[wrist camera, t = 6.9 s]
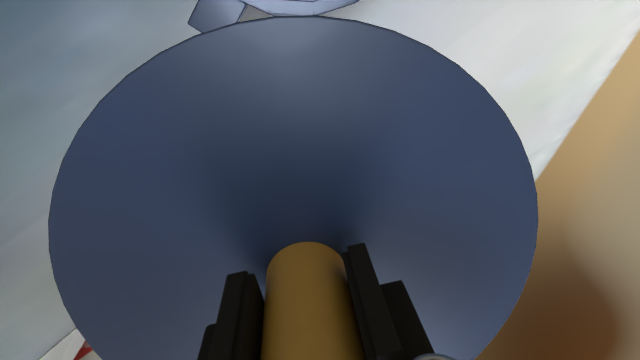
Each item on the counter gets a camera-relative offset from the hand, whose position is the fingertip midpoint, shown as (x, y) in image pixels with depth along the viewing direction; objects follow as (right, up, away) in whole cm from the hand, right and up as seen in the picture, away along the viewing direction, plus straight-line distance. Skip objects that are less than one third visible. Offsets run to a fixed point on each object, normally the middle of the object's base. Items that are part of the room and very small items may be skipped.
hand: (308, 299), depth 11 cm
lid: (0, +1, +2) cm, 2 cm away
